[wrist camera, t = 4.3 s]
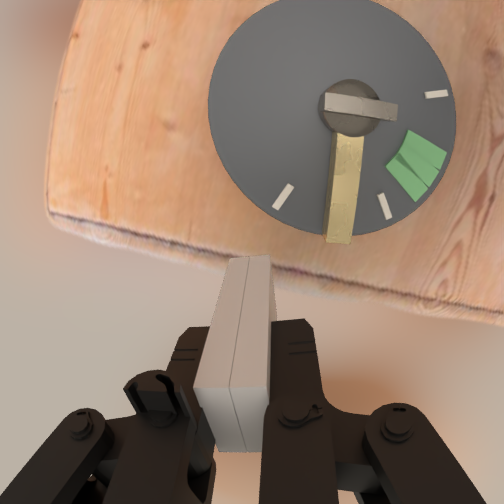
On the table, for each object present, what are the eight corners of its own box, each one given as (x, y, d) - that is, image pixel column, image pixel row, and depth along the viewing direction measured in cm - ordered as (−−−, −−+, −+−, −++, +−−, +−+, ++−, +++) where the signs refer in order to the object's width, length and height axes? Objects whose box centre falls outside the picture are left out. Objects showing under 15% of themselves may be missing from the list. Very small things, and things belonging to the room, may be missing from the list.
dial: (217, -10, 20) (214, -16, 19) (450, 28, 19) (458, 25, 18) (208, 223, 29) (205, 228, 27) (431, 240, 28) (437, 246, 26)
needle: (315, 79, 22) (326, 69, 17) (375, 88, 22) (398, 82, 17) (303, 229, 27) (310, 254, 22) (359, 234, 27) (376, 258, 22)
